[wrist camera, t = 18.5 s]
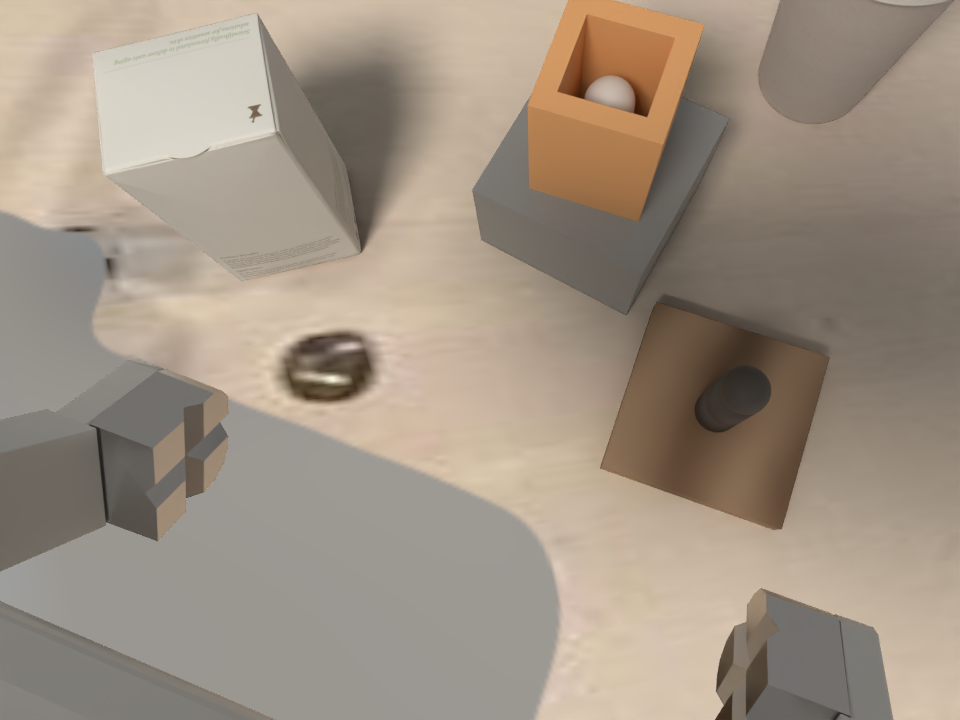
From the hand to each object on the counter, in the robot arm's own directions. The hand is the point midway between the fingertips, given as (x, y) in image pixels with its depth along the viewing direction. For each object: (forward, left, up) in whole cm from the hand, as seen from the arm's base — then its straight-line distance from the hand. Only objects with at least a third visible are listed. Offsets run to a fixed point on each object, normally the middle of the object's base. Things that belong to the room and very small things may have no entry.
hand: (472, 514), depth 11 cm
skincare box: (+22, -9, -34) cm, 41 cm away
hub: (+6, -19, -33) cm, 39 cm away
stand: (-6, -11, -33) cm, 36 cm away
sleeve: (+6, -19, -26) cm, 33 cm away
